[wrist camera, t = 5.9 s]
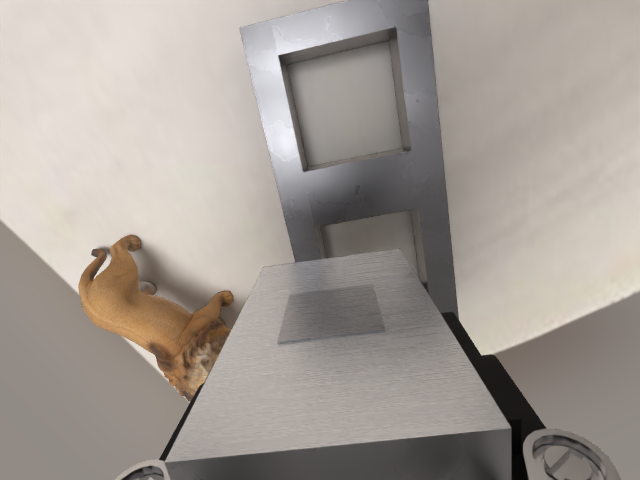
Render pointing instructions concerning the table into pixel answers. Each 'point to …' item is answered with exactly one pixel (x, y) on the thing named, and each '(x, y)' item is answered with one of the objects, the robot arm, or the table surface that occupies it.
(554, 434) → the robot arm
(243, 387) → the block
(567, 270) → the table surface
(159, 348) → the lion figurine
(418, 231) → the rail
